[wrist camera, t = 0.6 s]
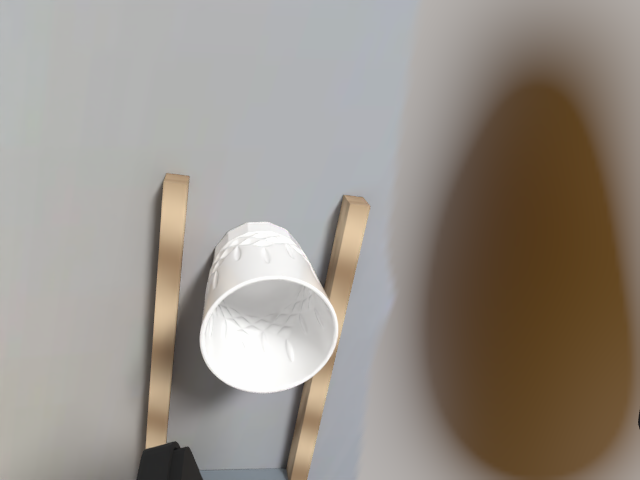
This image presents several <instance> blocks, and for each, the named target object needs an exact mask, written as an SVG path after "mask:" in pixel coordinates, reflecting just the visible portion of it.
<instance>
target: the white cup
mask: <svg viewBox="0 0 640 480" xmlns="http://www.w3.org/2000/svg"><path fill="white" fill-rule="evenodd" d="M337 338H338V320H337V316H336V313H335V310H334V308H333V306H332V304H331V302H330V300H329V298H328V297H327V295H326V293H325V291H324V289H323V287H322V285H321V283H320V281H319V279H318V277H317V275H316V273H315V271H314V269H313V267H312V266H311V264H310V262H309V260H308V258H307V257H306V255H305V254H304V252H303V251H302V249H301V247H300V245H299V243H298V242H297V241H296V240H295V239H294V238H293V236H292V235H291V234H290V233H289V232H288V231H287V230H286V229H284V228H282V227H279V226H277V225H275V224H272V223H270V222H247V223H245V224H243V225H241V226H239V227H237V228H234V229H232V230H230V231H228V232H227V234H226V235H225V236H224V237H223V239H222V240H221V241H220V242H219V243H218V245H217V246H216V248H215V252H214V257H213V262H212V267H211V269H210V271H209V277H208V281H207V287H206V294H205V301H204V309H203V316H202V323H201V330H200V349H201V353H202V356H203V359H204V361H205V363H206V365H207V366H208V368H209V369H210V370H211V372H212V373H213V374H214V375H215V376H216V377H217V378H219V379H220V380H221V381H223V382H224V383H226V384H227V385H229V386H231V387H234V388H236V389H239V390H242V391H246V392H252V393H274V392H280V391H284V390H288V389H291V388H293V387H296V386H298V385H300V384H302V383H304V382H306V381H307V380H309V379H310V378H312V377H313V376H314V375H315V374H317V373H318V372H319V371H320V370H321V369H322V368H323V367H324V365H325V364H326V363H327V362H328V360H329V359H330V357H331V355H332V353H333V351H334V349H335V346H336V343H337Z"/></svg>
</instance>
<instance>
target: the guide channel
mask: <svg viewBox="0 0 640 480" xmlns="http://www.w3.org/2000/svg"><path fill="white" fill-rule="evenodd" d="M188 187H189V176H185V175H176V174H168V173H166V176H165V179H164V182H163V196H162V211H161V226H160V241H159V256H158V271H157V286H156V300H155V315H154V330H153V345H152V360H151V375H150V390H149V404H148V419H147V434H146V449H148V448H152V447H155V446H159V445H163V444H166V440H167V428H168V417H169V405H170V394H171V382H172V371H173V359H174V348H175V336H176V325H177V313H178V302H179V290H180V279H181V267H182V256H183V244H184V233H185V221H186V210H187V198H188ZM369 210H370V205H369V204H368V203H367V202H366V200H365V199H364V198H363V197H356V196H348V195H343V200H342V205H341V210H340V214H339V219H338V224H337V229H336V233H335V238H334V243H333V248H332V253H331V257H330V262H329V267H328V272H327V277H326V281H325V286H324V291H325V293H326V295H327V297H328V298H329V300H330V302H331V304H332V306H333V308H334V310H335V313H336V316H337V320H338V338H337V343H336V346H335V349H334V351H333V353H332V355H331V357H330V359H329V360H328V362H327V363H326V364H325V365H324V367H323V368H322V369H321V370H320V371H319V372H318V373H317V374H315V375H314V376H313V377H312V378H310V379H309V380H307V381H306V382H304V387H303V391H302V396H301V401H300V406H299V411H298V415H297V420H296V425H295V430H294V434H293V439H292V444H291V449H290V454H289V458H288V463H287V468H286V469H287V476H288V480H307V477H308V473H309V469H310V464H311V460H312V456H313V451H314V447H315V443H316V439H317V434H318V430H319V426H320V421H321V417H322V413H323V408H324V404H325V400H326V395H327V391H328V387H329V382H330V378H331V374H332V370H333V365H334V361H335V357H336V352H337V348H338V344H339V339H340V335H341V331H342V326H343V322H344V318H345V314H346V309H347V305H348V301H349V296H350V292H351V288H352V283H353V279H354V275H355V270H356V266H357V262H358V257H359V253H360V249H361V245H362V240H363V236H364V232H365V227H366V223H367V219H368V214H369Z"/></svg>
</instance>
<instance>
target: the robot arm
mask: <svg viewBox="0 0 640 480" xmlns="http://www.w3.org/2000/svg"><path fill="white" fill-rule="evenodd" d="M638 425H639V428H640V412H639V419H638ZM137 480H203V478H202V476H201V474H200V471H199V469H198V466H197V464H196V462H195V459H194V457H193V454H192V452H191V450H190V448H189V447H184V448H180V446H179V444H178V443H177V442H176V441H175V442H171V443H167V444H163V445H159V446H155V447H152V448H148V449H145V450H144V451H143V454H142V457H141V462H140V466H139V471H138V475H137Z"/></svg>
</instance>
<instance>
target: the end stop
mask: <svg viewBox="0 0 640 480" xmlns="http://www.w3.org/2000/svg"><path fill="white" fill-rule="evenodd" d="M199 471H200V474H201V476H202V478H203V480H288V476H287V469H241V470H199Z"/></svg>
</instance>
